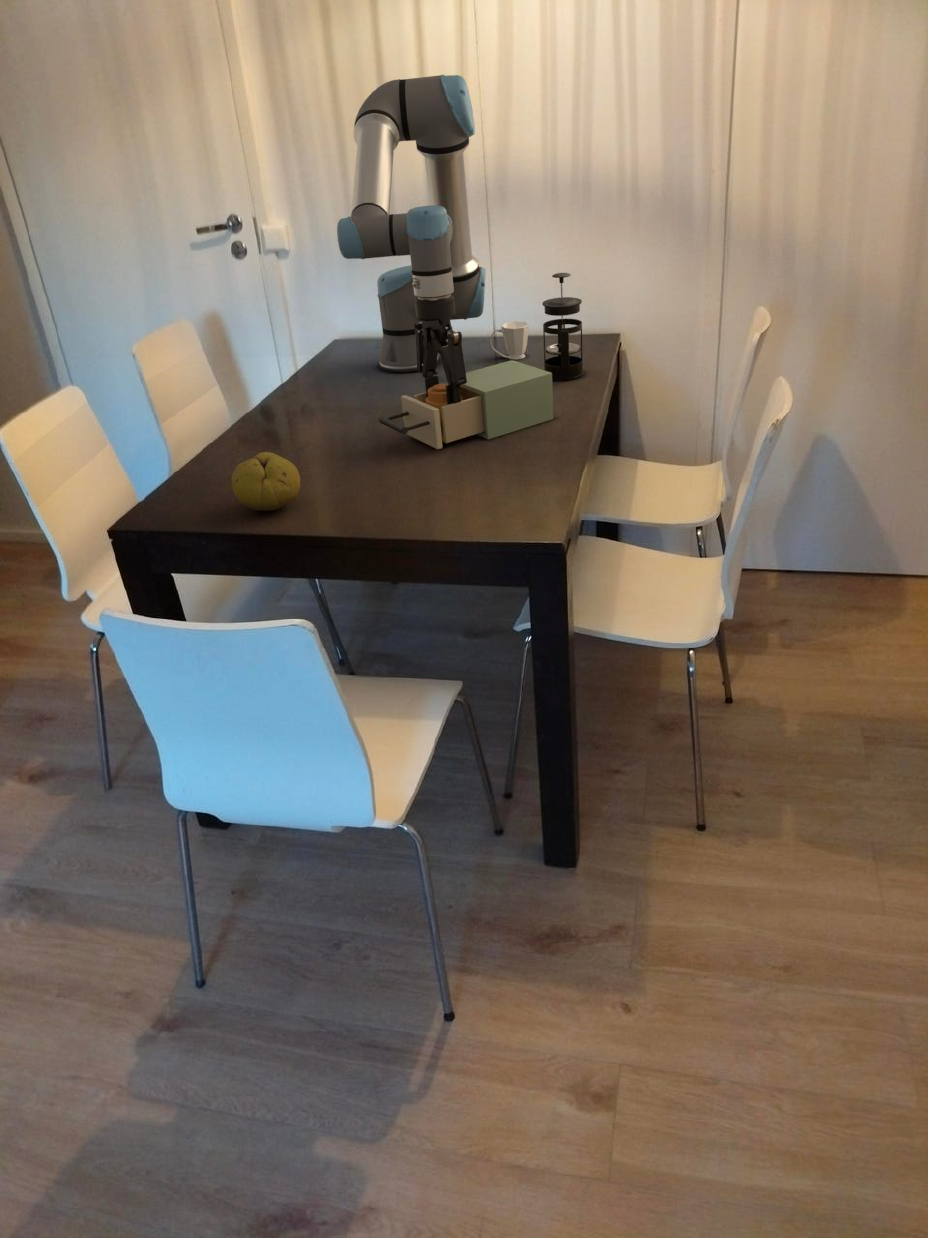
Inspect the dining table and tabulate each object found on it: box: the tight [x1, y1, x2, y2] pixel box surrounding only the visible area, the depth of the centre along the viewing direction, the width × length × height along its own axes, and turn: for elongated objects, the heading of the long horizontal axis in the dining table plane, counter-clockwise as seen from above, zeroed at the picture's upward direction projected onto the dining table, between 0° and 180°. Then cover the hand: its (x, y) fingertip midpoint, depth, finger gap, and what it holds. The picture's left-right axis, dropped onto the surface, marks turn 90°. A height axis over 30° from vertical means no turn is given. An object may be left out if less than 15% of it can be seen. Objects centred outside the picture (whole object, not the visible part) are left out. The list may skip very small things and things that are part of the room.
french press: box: [541, 272, 585, 382], centre depth 215 cm, size 12×9×23 cm
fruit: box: [231, 451, 301, 512], centre depth 164 cm, size 11×12×10 cm
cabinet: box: [446, 359, 554, 440], centre depth 194 cm, size 17×14×10 cm
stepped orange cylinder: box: [426, 382, 462, 420], centre depth 187 cm, size 7×7×6 cm
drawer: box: [378, 387, 485, 450], centre depth 187 cm, size 22×13×8 cm, turn 124°
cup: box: [489, 321, 530, 361], centre depth 235 cm, size 7×10×8 cm
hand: (444, 412), depth 188 cm, fingers closed on stepped orange cylinder, 7 cm apart
